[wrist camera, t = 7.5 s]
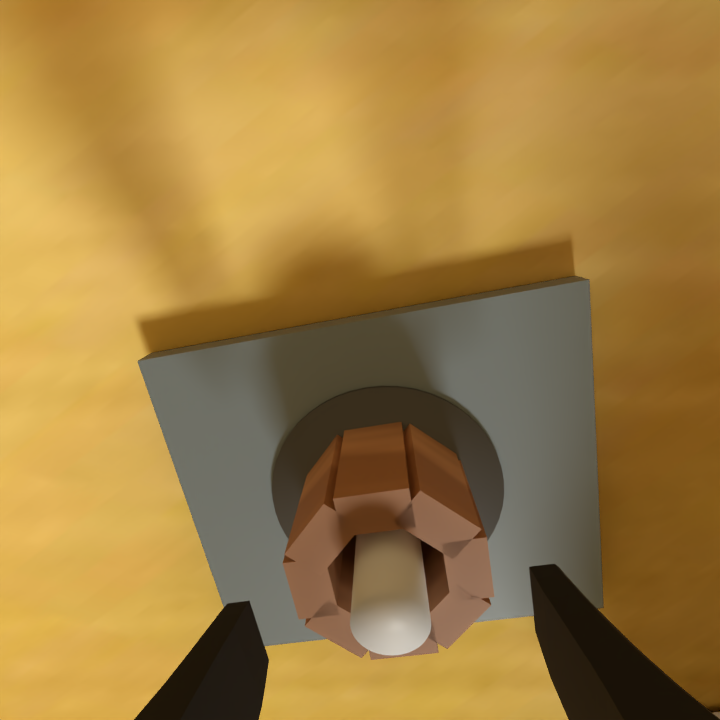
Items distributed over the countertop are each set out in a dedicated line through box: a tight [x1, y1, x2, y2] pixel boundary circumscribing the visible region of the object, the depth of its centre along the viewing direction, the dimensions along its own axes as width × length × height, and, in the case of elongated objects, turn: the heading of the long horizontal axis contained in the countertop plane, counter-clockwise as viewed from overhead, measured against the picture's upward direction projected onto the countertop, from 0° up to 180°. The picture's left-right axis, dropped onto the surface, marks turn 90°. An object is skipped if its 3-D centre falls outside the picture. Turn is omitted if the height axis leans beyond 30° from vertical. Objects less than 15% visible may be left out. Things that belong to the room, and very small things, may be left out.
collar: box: [283, 422, 494, 660], centre depth 14 cm, size 6×6×4 cm
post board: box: [138, 276, 604, 655], centre depth 14 cm, size 15×13×7 cm
